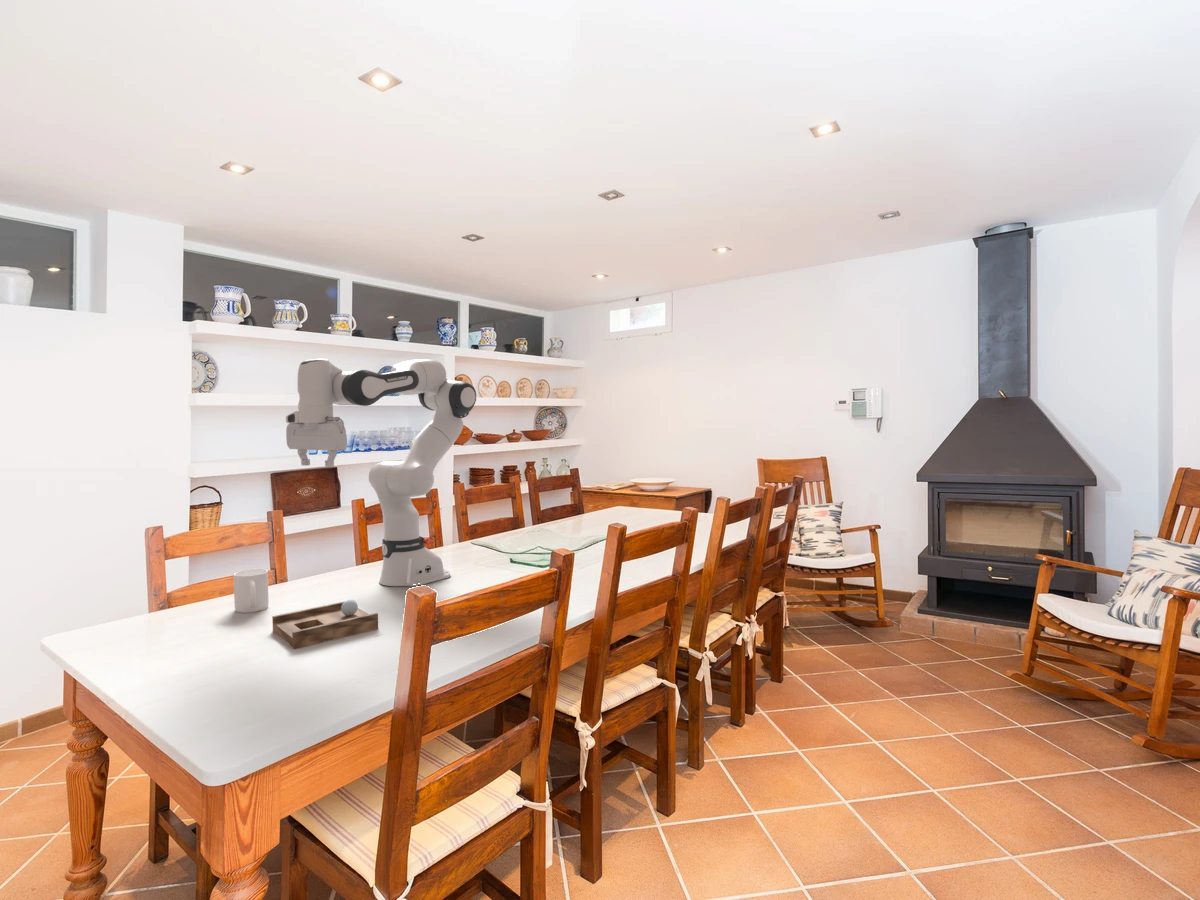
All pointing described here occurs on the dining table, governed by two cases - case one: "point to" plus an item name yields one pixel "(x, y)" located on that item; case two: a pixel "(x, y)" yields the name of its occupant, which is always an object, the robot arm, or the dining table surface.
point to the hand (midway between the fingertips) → (317, 466)
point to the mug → (251, 590)
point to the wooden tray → (321, 625)
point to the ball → (349, 607)
